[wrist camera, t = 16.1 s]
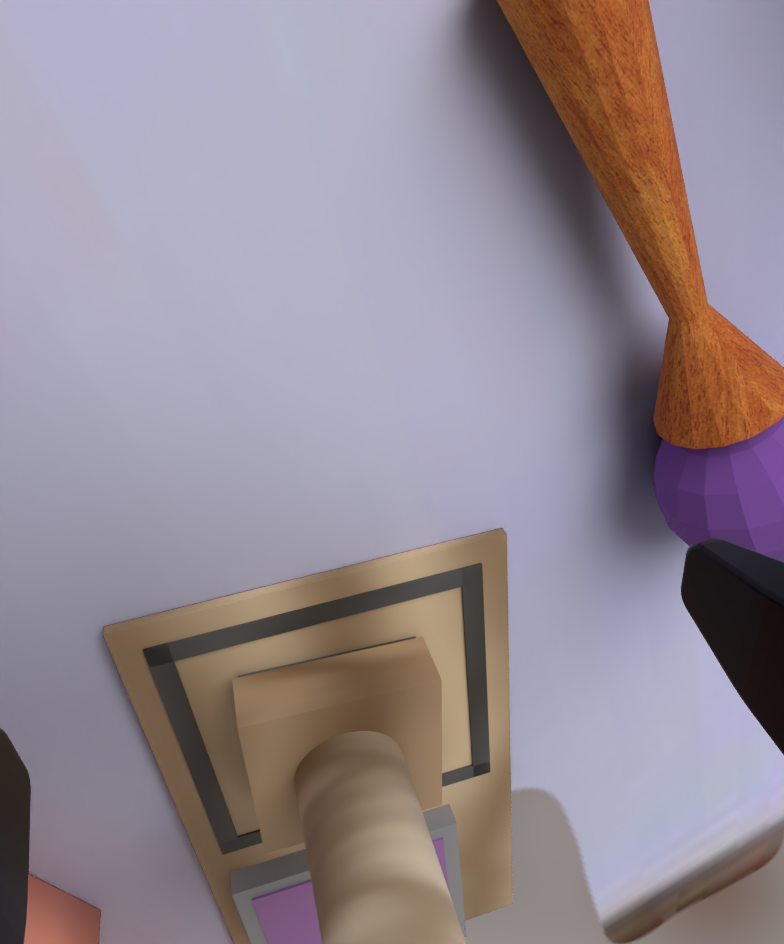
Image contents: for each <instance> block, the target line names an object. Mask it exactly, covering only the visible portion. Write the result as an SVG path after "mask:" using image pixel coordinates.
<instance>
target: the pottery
mask: <svg viewBox="0 0 784 944" xmlns="http://www.w3.org/2000/svg"><path fill="white" fill-rule="evenodd" d="M100 919H101V910H99V909H97V908H95V907H93V906H91V905H89V904H87V903H85V902H83V901H81V900H79V899H77V898H75V897H73V896H71V895H69V894H67V893H65V892H63V891H61V890H59V889H57V888H55V887H53V886H51V885H49V884H47V883H45V882H43V881H41V880H39V879H37V878H35V877H33V876H31V875H29V874H28V902H27V920H26V929H25V937H24V944H99V932H100Z"/></svg>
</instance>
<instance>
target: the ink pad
mask: <svg viewBox="0 0 784 944" xmlns="http://www.w3.org/2000/svg"><path fill="white" fill-rule="evenodd" d="M423 815H424V818H425V821H426V824H427V827H428V830H429V833H430V836H431V839H432V842H433V845H434V848H435V851H436V854H437V857H438V860H439V863H440V866H441V869H442V872H443V875H444V878H445V881H446V884H447V887H448V890H449V893H450V896H451V899H452V902H453V905H454V908H455V911H456V914H457V917H458V920H459V923H460V926H461V929H462V932H463V935H464V937H466V928H465V916H464V904H463V892H462V880H461V868H460V856H459V844H458V833H457V823H456V820H455V817H454V815H453V812H452V809H451V807H450V804H446V805H443V806H440V807H437V808H434V809H430V810H427V811H424V812H423ZM230 876H231V889H232V896H233V899H234V901H235V904H236V906H237V909H238V911H239V914H240V916H241V919H242V921H243V924H244V926H245V929H246V931H247V934H248V936H249V939H250V941H251V944H322V939H321V934H320V928H319V922H318V916H317V911H316V905H315V899H314V893H313V888H312V882H311V876H310V870H309V865H308V859H307V853H306V849H303V850H300V851H297V852H294V853H290V854H287V855H284V856H281V857H278V858H274V859H271V860H268V861H265V862H262V863H259V864H255V865H252V866H249V867H246V868H243V869H239V870H236V871H233V872H230Z"/></svg>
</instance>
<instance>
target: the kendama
mask: <svg viewBox="0 0 784 944" xmlns="http://www.w3.org/2000/svg"><path fill="white" fill-rule="evenodd" d="M497 2H498V4H499V6H500V7H501V9H502V11H503V13H504V15H505V17H506V18H507V20H508V22H509V24H510V26H511V28H512V29H513V31H514V33H515V35H516V37H517V39H518V41H519V42H520V44H521V46H522V48H523V50H524V52H525V53H526V55H527V57H528V59H529V61H530V63H531V65H532V66H533V68H534V70H535V72H536V74H537V76H538V77H539V79H540V81H541V83H542V85H543V87H544V89H545V90H546V92H547V94H548V96H549V98H550V100H551V101H552V103H553V105H554V107H555V109H556V111H557V113H558V114H559V116H560V118H561V120H562V122H563V124H564V125H565V127H566V129H567V131H568V133H569V135H570V137H571V138H572V140H573V142H574V144H575V146H576V148H577V149H578V151H579V153H580V155H581V157H582V159H583V161H584V162H585V164H586V166H587V168H588V170H589V172H590V173H591V175H592V177H593V179H594V181H595V183H596V184H597V186H598V188H599V190H600V192H601V194H602V196H603V197H604V199H605V201H606V203H607V205H608V207H609V208H610V210H611V212H612V214H613V216H614V218H615V220H616V221H617V223H618V225H619V227H620V229H621V231H622V232H623V234H624V236H625V238H626V240H627V242H628V244H629V245H630V247H631V249H632V251H633V253H634V255H635V256H636V258H637V260H638V262H639V264H640V266H641V268H642V269H643V271H644V273H645V275H646V277H647V279H648V280H649V282H650V284H651V286H652V288H653V290H654V292H655V293H656V295H657V297H658V299H659V301H660V303H661V304H662V306H663V308H664V310H665V312H666V314H667V316H668V317H669V322H668V328H667V335H666V341H665V348H664V354H663V360H662V367H661V373H660V380H659V386H658V392H657V399H656V405H655V412H654V418H653V421H654V424H655V428H656V431H657V434H658V435H659V436H660V437H662V441H661V444H660V447H659V450H658V453H657V455H656V460H655V469H654V477H653V485H654V489H655V493H656V497H657V501H658V504H659V507H660V509H661V511H662V513H663V515H664V517H665V520H666V522H667V524H668V526H669V528H670V529H671V530H672V531H674V532H675V533H676V534H677V535H678V536H679V537H680V538H681V539H682V540H683V541H684V542H685V543H687V544H688V545H689V546H691V545H692V544H694V543H698V542H702V541H706V540H710V539H714V538H719V539H723V540H726V541H729V542H731V543H734V544H737V545H739V546H742V547H745V548H747V549H750V550H753V551H755V552H758V553H761V554H763V555H766V556H769V557H771V558H774V559H777V560H779V561H782V562H784V367H783V366H781V365H780V364H779V363H778V362H777V361H775V360H774V359H773V358H772V357H771V356H770V355H768V354H767V353H766V352H765V351H764V350H762V349H761V348H760V347H759V346H758V345H756V344H755V343H754V342H753V341H752V340H751V339H749V338H748V337H747V336H746V335H745V334H743V333H742V332H741V331H740V330H739V329H737V328H736V327H735V326H734V325H733V324H732V323H730V322H729V321H728V320H727V319H726V318H724V317H723V316H722V315H721V314H720V313H718V312H717V311H716V310H715V309H714V308H712V307H711V306H710V305H709V304H708V303H707V298H706V292H705V287H704V282H703V277H702V272H701V267H700V262H699V257H698V252H697V246H696V241H695V236H694V231H693V226H692V221H691V216H690V211H689V206H688V201H687V195H686V190H685V185H684V180H683V175H682V170H681V165H680V160H679V155H678V150H677V144H676V139H675V134H674V129H673V124H672V119H671V114H670V109H669V104H668V99H667V93H666V88H665V83H664V78H663V73H662V68H661V63H660V58H659V53H658V48H657V42H656V37H655V32H654V27H653V22H652V17H651V12H650V7H649V2H648V0H497Z"/></svg>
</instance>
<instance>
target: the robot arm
mask: <svg viewBox="0 0 784 944" xmlns="http://www.w3.org/2000/svg"><path fill="white" fill-rule="evenodd" d="M681 596H682V600H683V602H684V605H685V607H686V609H687V610H688V612H689V614H690V615H691V617H692V619H693V620H694V622H695V623H696V625H697V627H698V628H699V630H700V632H701V633H702V635H703V637H704V638H705V640H706V642H707V643H708V645H709V647H710V648H711V650H712V651H713V653H714V655H715V656H716V658H717V660H718V661H719V663H720V665H721V666H722V668H723V670H724V671H725V673H726V675H727V676H728V678H729V679H730V681H731V683H732V684H733V686H734V687H735V689H736V690H737V692H738V694H739V695H740V697H741V698H742V700H743V701H744V702H745V704H746V705H747V707H748V708H749V709H750V711H751V712H752V713H753V715H754V716H755V717H756V719H757V720H758V721H759V723H760V724H761V725H762V727H763V728H764V729H765V731H766V732H767V733H768V735H769V736H770V737H771V739H772V740H773V741H774V743H775V744H776V745H777V747H778V748H779V749H780V751H781V752H782V753H783V755H784V562H782V561H779V560H777V559H774V558H771V557H769V556H766V555H763V554H761V553H758V552H755V551H753V550H750V549H747V548H745V547H742V546H739V545H737V544H734V543H731V542H729V541H726V540H723V539H719V538H714V539H710V540H706V541H702V542H698V543H694V544H692V545H691V546H690V547H689V548H688V550H687V553H686V558H685V565H684V572H683V578H682V585H681ZM30 796H31V786H30V779H29V774H28V771H27V769H26V767H25V765H24V763H23V762H22V760H21V758H20V757H19V755H18V753H17V751H16V750H15V748H14V746H13V744H12V743H11V741H10V739H9V738H8V736H7V734H6V733H5V732H4V731H3V730H2V729H1V728H0V944H24V937H25V929H26V920H27V902H28V870H29V833H30Z"/></svg>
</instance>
